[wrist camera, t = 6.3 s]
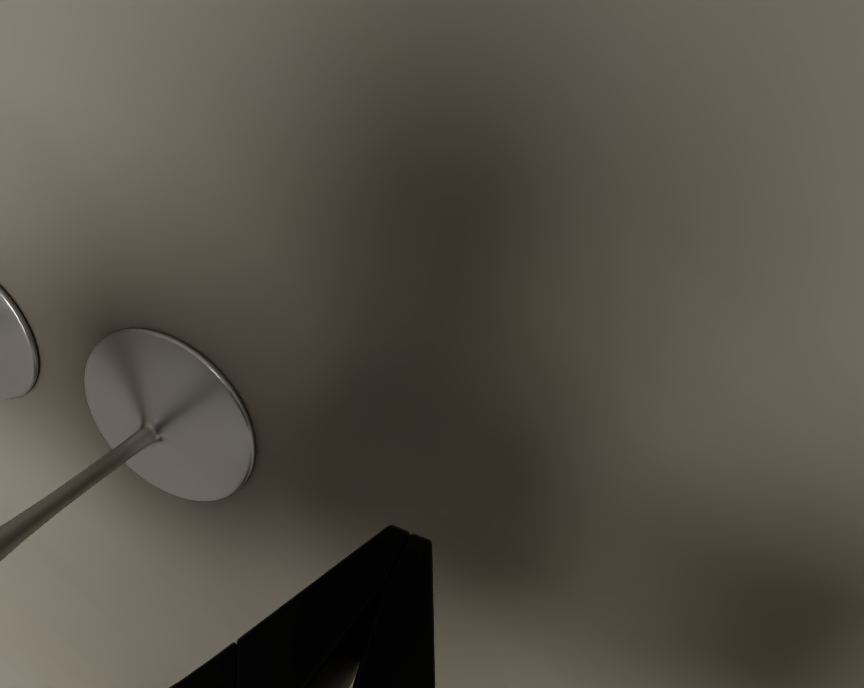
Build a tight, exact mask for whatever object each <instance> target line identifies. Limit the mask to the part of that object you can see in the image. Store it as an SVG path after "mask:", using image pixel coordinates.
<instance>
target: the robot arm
mask: <svg viewBox="0 0 864 688" xmlns="http://www.w3.org/2000/svg"><path fill="white" fill-rule="evenodd" d="M355 676H356V677H355ZM354 678H355V681H354V684H353V687H352V688H435V658H434V608H433V558H432V542H431V541H430V540H429V539H426V538H424V537H421V536H419V535H417V534H411V535H410V533H409V532H408V531H407V530H404V529H402V528H399V527H397V526H394V525H389V526H388V527H386V528H385V529H383V530H382V531H381V532H379V533H378V534H377V535H375V536H374V537H373V538H371V539H370V540H369V541H367V542H366V543H365V544H363V545H362V546H361V547H359V548H358V549H357V550H355V551H354V552H353V553H351V554H350V555H349V556H347V557H346V558H345V559H343V560H342V561H341V562H340V563H338V564H337V565H336V566H334V567H333V568H332V569H330V570H329V571H328V572H326V573H325V574H324V575H322V576H321V577H320V578H318V579H317V580H316V581H314V582H313V583H312V584H310V585H309V586H308V587H306V588H305V589H304V590H302V591H301V592H300V593H298V594H297V595H296V596H294V597H293V598H292V599H290V600H289V601H288V602H286V603H285V604H284V605H282V606H281V607H280V608H278V609H277V610H276V611H274V612H273V613H272V614H270V615H269V616H268V617H266V618H265V619H264V620H263V621H261V622H260V623H259V624H257V625H256V626H255V627H253V628H252V629H251V630H249V631H248V632H247V633H245V634H244V635H243V636H241V637H240V638H239V639H238V640H237V644H236V643H232V644H230V645H229V646H228V647H226V648H225V649H224V650H222V651H221V652H220V653H218V654H217V655H216V656H214V657H213V658H212V659H210V660H209V661H208V662H206V663H205V664H203V665H202V666H200V667H199V668H198V669H196V670H195V671H193V672H192V673H191V674H189V675H188V676H186V677H185V678H184V679H182V680H181V681H179V682H178V683H176V684H174V685H173V686H171V687H170V688H349V687H350V685H351V683H352V681H353V679H354Z"/></svg>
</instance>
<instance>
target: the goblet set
mask: <svg viewBox="0 0 864 688" xmlns="http://www.w3.org/2000/svg"><path fill="white" fill-rule="evenodd" d="M38 368H39V363H38V354H37V349H36V345H35V342H34V339H33V336H32V333H31V331H30V329H29V327H28V324H27V323H26V321H25V319H24V317H23V315H22V314H21V312H20V310H19V309H18V307H17V306H16V305H15V303H14V302H13V301H12V299H11V298H10V297H9V296H8V294H7V293H6V292H5V291H4V290H3V289H2V288H1V287H0V398H3V399H13V398H18V397H21V396H23V395H25V394H26V393H27V392H29V391H30V390H31V388H32V387H33V386H34V384H35V382H36V379H37V375H38ZM84 386H85V393H86V398H87V402H88V406H89V409H90V412H91V414H92V417H93V419H94V421H95V423H96V425H97V427H98V429H99V431H100V432H101V434H102V436H103V437H104V439H105V440H106V442H107V443H108V444H109V446H110V447H111V448H112V450H111V451H110V452H108V453H107V454H106V455H104V456H103V457H102V458H100V459H99V460H97V461H96V462H95V463H93V464H92V465H90V466H89V467H88V468H86V469H85V470H84V471H82V472H81V473H79V474H78V475H77V476H75V477H74V478H72V479H71V480H69V481H68V482H66V483H65V484H64V485H62V486H61V487H59V488H58V489H56V490H55V491H53V492H52V493H51V494H49V495H48V496H46V497H45V498H43V499H42V500H40V501H39V502H37V503H36V504H34V505H33V506H31V507H30V508H28V509H26V510H25V511H23V512H22V513H20V514H19V515H17V516H16V517H14V518H13V519H11V520H10V521H8V522H7V523H5V524H3V525H2V526H0V561H2V560H3V559H4V558H5V557H6V556H7V555H8V554H9V553H11V552H12V551H13V550H14V549H15V548H16V547H17V546H18V545H20V544H21V543H22V542H23V541H24V540H25V539H27V538H28V537H29V536H30V535H32V534H33V533H34V532H35V531H36V530H38V529H39V528H40V527H41V526H43V525H44V524H45V523H46V522H47V521H49V520H50V519H51V518H52V517H54V516H55V515H56V514H57V513H59V512H60V511H61V510H62V509H64V508H65V507H66V506H68V505H69V504H70V503H72V502H73V501H74V500H75V499H77V498H78V497H79V496H81V495H82V494H83V493H85V492H86V491H87V490H88V489H90V488H91V487H92V486H94V485H95V484H97V483H98V482H99V481H101V480H102V479H103V478H105V477H106V476H107V475H109V474H110V473H111V472H113V471H114V470H115V469H117V468H118V467H120V466H121V465H122V464H124V463H125V464H126V465H127V466H128V467H129V468H130V469H132V470H133V471H134V472H135V473H136V474H138V475H139V476H140V477H142V478H143V479H144V480H146V481H147V482H149V483H150V484H152V485H154V486H155V487H157V488H159V489H161V490H163V491H165V492H167V493H169V494H172V495H174V496H177V497H180V498H184V499H188V500H194V501H215V500H220V499H223V498H226V497H228V496H230V495H232V494H234V493H235V492H237V491H238V490H239V489H240V488H241V487H242V486H243V485H244V484H245V482H246V481H247V480H248V478H249V476H250V474H251V472H252V469H253V465H254V460H255V438H254V433H253V429H252V425H251V422H250V419H249V416H248V414H247V411H246V409H245V407H244V405H243V403H242V401H241V399H240V398H239V396H238V394H237V393H236V391H235V390H234V388H233V387H232V385H231V384H230V383H229V381H228V380H227V379H226V378H225V376H224V375H223V374H222V373H221V372H220V371H219V370H218V369H217V368H216V367H215V366H214V365H213V364H212V363H211V362H210V361H209V360H208V359H207V358H205V357H204V356H203V355H202V354H200V353H199V352H198V351H196V350H195V349H193V348H192V347H190V346H189V345H187V344H186V343H184V342H182V341H180V340H178V339H176V338H174V337H172V336H169V335H167V334H164V333H161V332H158V331H154V330H149V329H141V328H129V329H123V330H118V331H115V332H113V333H110V334H108V335H107V336H105V337H104V338H102V339H101V340H100V341H99V342H98V343H97V344H96V345H95V346H94V348H93V349H92V351H91V352H90V354H89V356H88V359H87V362H86V366H85V373H84Z"/></svg>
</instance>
